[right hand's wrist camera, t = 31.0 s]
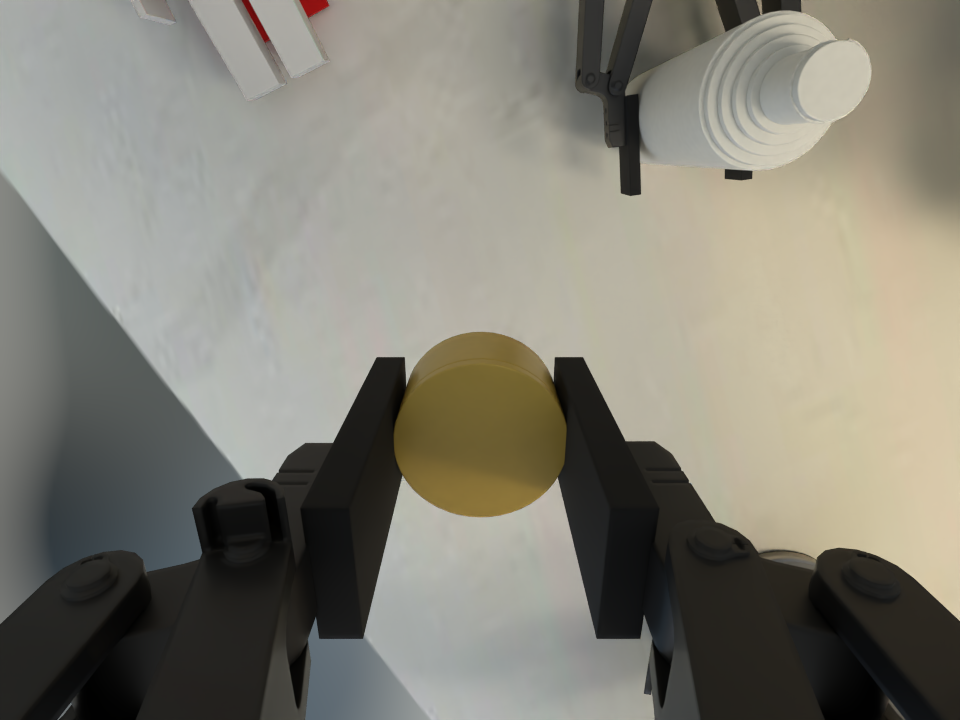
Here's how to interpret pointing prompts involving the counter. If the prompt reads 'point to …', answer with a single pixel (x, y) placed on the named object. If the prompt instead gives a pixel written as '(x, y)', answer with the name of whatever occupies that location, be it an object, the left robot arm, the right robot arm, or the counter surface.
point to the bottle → (750, 95)
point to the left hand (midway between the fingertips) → (684, 185)
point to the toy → (254, 37)
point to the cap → (480, 426)
